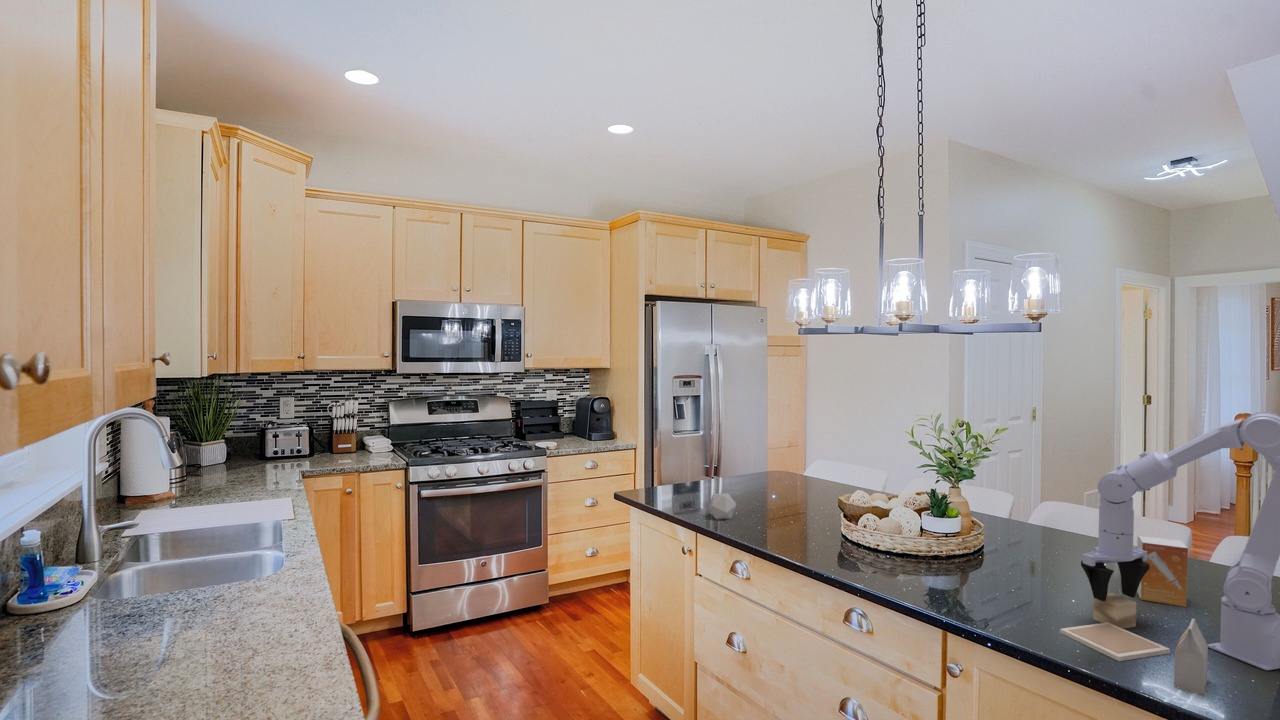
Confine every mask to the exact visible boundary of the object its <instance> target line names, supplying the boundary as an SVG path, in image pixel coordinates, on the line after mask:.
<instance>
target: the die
mask: <svg viewBox="0 0 1280 720" xmlns="http://www.w3.org/2000/svg"><path fill="white" fill-rule="evenodd" d="M736 507H737V503H736V502H735V500H734V499H733V498H732V496H731V495H730V494H729V493H713V494H712V496H711V499H710V502H709V504H708V505H707V509H708V510H709V512H710V513H711V515H712V516H713V517H714V519H715V520H717V521H718V520H731V519H732V517H733V514H734V512H735V510H736Z"/></svg>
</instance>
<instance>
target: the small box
mask: <svg viewBox="0 0 1280 720" xmlns="http://www.w3.org/2000/svg"><path fill="white" fill-rule="evenodd" d="M1136 545H1137V546H1136V547H1137V548H1136V549H1141V550H1144V551H1147V561H1142V562H1145V563H1148V564H1149V565H1150V569H1149V570H1148V571H1147V572H1146V573H1145V575H1144V576H1143V578H1142V580H1141V582H1140V584H1139V587H1138V590H1137V592H1136V594H1137V595H1138V597H1139V598H1140V600H1141V601H1147V602H1154V603H1155V602H1156V603H1161V604H1165V605H1171V606H1172V605H1173V606H1178V607H1183V608H1186V607H1187V600H1188V599H1187V598H1188V597H1187V595H1188V594H1187V593H1188V564H1189V563H1188V560H1189V548H1188V546H1187V545H1186V544H1185V543H1184V542H1183V540H1179V539H1178V540H1177V539H1169V538H1162V537H1152V536H1141V535H1137V542H1136Z"/></svg>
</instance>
